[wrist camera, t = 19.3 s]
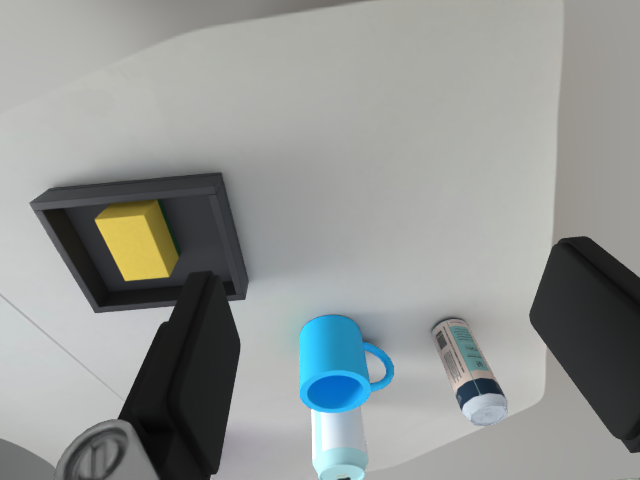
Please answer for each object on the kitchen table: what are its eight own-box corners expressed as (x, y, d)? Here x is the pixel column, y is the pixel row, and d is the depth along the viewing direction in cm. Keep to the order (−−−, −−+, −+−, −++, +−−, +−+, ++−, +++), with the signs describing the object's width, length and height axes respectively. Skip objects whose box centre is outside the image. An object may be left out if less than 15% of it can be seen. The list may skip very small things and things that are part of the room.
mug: (295, 353, 48) (294, 410, 41) (305, 311, 44) (306, 367, 37) (378, 361, 50) (390, 417, 43) (396, 321, 46) (413, 376, 39)
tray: (49, 188, 34) (28, 203, 31) (221, 172, 33) (214, 185, 31) (108, 294, 41) (94, 313, 38) (248, 281, 41) (245, 299, 38)
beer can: (435, 345, 48) (469, 432, 38) (427, 323, 46) (461, 410, 36) (469, 334, 48) (514, 421, 38) (463, 311, 45) (509, 398, 35)
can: (367, 385, 53) (382, 473, 43) (336, 407, 56) (343, 494, 46) (332, 368, 50) (339, 457, 40) (301, 391, 53) (301, 480, 43)
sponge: (114, 198, 34) (93, 219, 30) (159, 194, 34) (144, 215, 30) (140, 257, 38) (125, 281, 34) (181, 253, 38) (169, 277, 34)
